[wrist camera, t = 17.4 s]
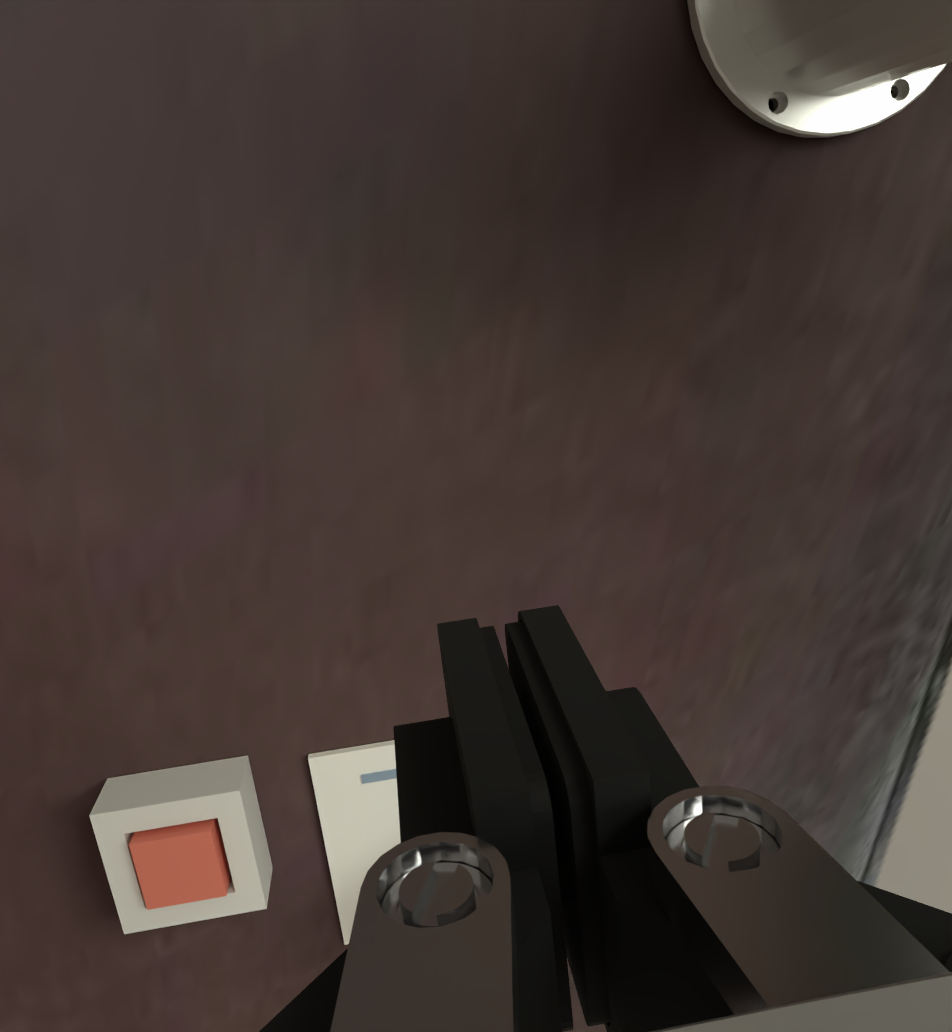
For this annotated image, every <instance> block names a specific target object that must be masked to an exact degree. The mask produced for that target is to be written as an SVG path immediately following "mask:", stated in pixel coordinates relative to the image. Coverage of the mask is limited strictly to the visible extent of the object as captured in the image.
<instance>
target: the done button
mask: <svg viewBox="0 0 952 1032" xmlns="http://www.w3.org/2000/svg"><path fill="white" fill-rule="evenodd" d="M129 847H130V850H131V854H132V857H133V861H134V864H135V868H136V872H137V875H138V879H139V882H140V886H141V889H142V893H143V896H144V900H145V904H146V907H147V910H150V909H156V908H161V907H167V906H173V905H178V904H184V903H190V902H195V901H201V900H206V899H212V898H218V897H223V896H227V891H228V887H229V882H230V877H231V872H230V868H229V863H228V859H227V855H226V851H225V847H224V843H223V838H222V834H221V830H220V826H219V822H218V818H215V819H209V820H203V821H197V822H191V823H185V824H179V825H173V826H167V827H162V828H156V829H150V830H144V831H138V832H134V834H133V836H132V839H131V841H130V844H129Z"/></svg>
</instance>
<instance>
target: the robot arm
mask: <svg viewBox="0 0 952 1032" xmlns="http://www.w3.org/2000/svg"><path fill="white" fill-rule="evenodd" d="M687 2H688V9H689V15H690V22H691V28H692V32H693V34H694V37H695V40H696V43H697V46H698V49H699V52H700V55H701V58H702V60H703V62H704V64H705V65H706V67H707V69H708V71H709V73H710V74H711V76H712V78H713V80H714V82H715V83H716V85H717V86H718V87H719V88H720V89H721V91H722V92H723V93H724V94H725V95H726V96H727V98H728V99H729V100H730V101H731V102H732V104H733V105H735V106H736V107H737V108H738V109H740V110H741V111H742V112H744V113H745V114H746V115H747V116H749V117H750V118H751V119H752V120H754V121H755V122H758V123H760V124H762V125H764V126H766V127H768V128H770V129H772V130H774V131H776V132H779V133H784V134H788V135H793V136H797V137H802V138H829V137H834V136H839V135H844V134H849V133H853V132H856V131H859V130H862V129H865V128H868V127H871V126H874V125H877V124H879V123H881V122H882V121H884V120H886V119H888V118H890V117H891V116H893V115H895V114H897V113H899V112H900V111H902V110H903V109H904V108H905V107H907V106H908V105H909V104H910V103H911V102H913V101H914V100H915V99H916V98H917V97H919V96H920V95H921V94H922V93H924V91H925V90H926V89H927V88H928V87H929V86H930V84H931V83H932V82H933V81H934V80H935V79H936V78H937V76H938V75H939V74H940V73H941V72H942V71H943V69H944V68H945V66H946V65H947V63H949V62H952V0H687ZM890 90H892V93H893V94H892V97H891V92H890ZM769 100H771V101H772V102H773V105H774V107H773V110H772V111H771V110H770V109H769V105H768V102H769ZM437 628H438V636H439V644H440V651H441V658H442V666H443V673H444V681H445V688H446V695H447V703H448V710H449V717H447V718H441V719H435V720H429V721H422V722H416V723H410V724H404V725H398V726H394V743H395V759H396V775H397V791H398V808H399V824H400V840H401V843H400V844H398V845H396V846H395V847H393V848H392V849H390V850H389V851H387V852H386V853H384V854H383V855H381V856H380V857H379V858H378V860H377V861H376V862H375V863H374V864H373V865H372V866H371V868H370V869H369V870H368V871H367V874H366V876H365V878H364V881H363V883H362V885H361V888H360V893H359V898H358V902H357V907H356V912H355V917H354V921H353V926H352V931H351V936H350V940H349V945H348V949H347V950H346V951H344V952H343V953H342V954H341V955H340V956H339V957H338V958H337V959H336V960H335V961H334V962H333V963H332V964H331V965H330V966H328V967H327V968H326V969H325V970H324V971H323V972H322V973H321V974H320V975H319V976H318V977H317V978H316V979H315V980H314V981H313V982H311V983H310V984H309V985H308V986H307V987H306V988H305V989H304V990H303V991H302V992H301V993H300V994H299V995H298V996H297V997H295V998H294V999H293V1000H292V1001H291V1002H290V1003H289V1004H288V1005H287V1006H286V1007H285V1008H284V1009H283V1010H282V1011H281V1012H280V1013H278V1014H277V1015H276V1016H275V1017H274V1018H273V1019H272V1020H271V1021H270V1022H269V1023H268V1024H267V1025H266V1026H265V1027H264V1028H262V1029H261V1030H260V1031H259V1032H563V1031H568V1030H573V1018H572V1008H571V997H570V987H569V977H568V966H567V958H568V962H569V965H570V969H571V972H572V976H573V979H574V983H575V986H576V990H577V993H578V997H579V1000H580V1004H581V1007H582V1010H583V1014H584V1017H585V1020H586V1023H587V1025H588V1026H593V1025H599V1024H604V1023H605V1027H606V1030H607V1032H952V914H951V913H948V912H945V911H942V910H939V909H936V908H934V907H931V906H928V905H925V904H922V903H919V902H917V901H913V900H911V899H908V898H905V897H902V896H899V895H896V894H893V893H891V892H888V891H885V890H882V889H879V888H876V887H873V886H870V885H868V884H865V883H862V882H859V881H856V880H855V879H854V878H853V877H852V876H851V875H850V874H849V873H848V872H847V871H846V870H845V869H844V868H843V867H842V866H841V865H840V864H839V863H838V862H837V861H836V860H835V859H834V858H832V857H831V856H830V855H829V854H828V853H827V852H826V851H825V850H824V849H823V848H822V847H821V846H820V845H819V844H818V843H817V842H816V841H815V840H814V839H813V838H812V837H811V836H810V835H809V834H808V833H807V832H806V831H805V830H804V829H803V828H802V827H801V826H800V825H799V824H798V823H797V822H796V821H795V820H793V819H792V818H791V817H790V816H789V815H788V814H787V813H786V812H785V811H784V810H783V809H781V808H780V807H778V806H777V805H776V804H774V803H773V802H772V801H770V800H769V799H766V798H764V797H762V796H759V795H757V794H755V793H752V792H750V791H746V790H741V789H737V788H732V787H726V786H702V787H699V786H698V784H697V783H696V781H695V779H694V778H693V776H692V775H691V773H690V771H689V770H688V768H687V767H686V765H685V763H684V762H683V760H682V759H681V757H680V755H679V754H678V752H677V751H676V749H675V747H674V746H673V744H672V743H671V741H670V739H669V738H668V736H667V735H666V733H665V731H664V730H663V728H662V727H661V725H660V723H659V722H658V720H657V719H656V717H655V715H654V714H653V712H652V711H651V709H650V707H649V706H648V704H647V703H646V701H645V699H644V698H643V696H642V695H641V693H640V692H639V691H638V690H637V688H634V687H631V688H625V689H619V690H613V691H605V689H604V687H603V686H602V684H601V682H600V680H599V678H598V676H597V675H596V673H595V671H594V669H593V667H592V665H591V664H590V662H589V660H588V658H587V656H586V655H585V653H584V651H583V649H582V647H581V645H580V644H579V642H578V640H577V638H576V636H575V635H574V633H573V631H572V629H571V627H570V625H569V624H568V622H567V620H566V618H565V616H564V615H563V613H562V611H561V609H560V607H559V606H558V605H557V606H551V607H544V608H538V609H531V610H525V611H519V612H518V622H515V623H509V624H505V637H506V646H507V655H508V664H509V669H508V666H507V664H506V661H505V658H504V655H503V652H502V649H501V646H500V643H499V640H498V638H497V635H496V632H495V629H494V626H489V627H483V628H479V625H478V621H477V619H476V618H472V619H466V620H459V621H453V622H446V623H440V624H437ZM566 955H567V956H566Z"/></svg>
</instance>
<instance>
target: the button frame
mask: <svg viewBox="0 0 952 1032" xmlns="http://www.w3.org/2000/svg"><path fill="white" fill-rule="evenodd" d="M89 817H90V820H91V823H92V827H93V830H94V834H95V837H96V840H97V844H98V847H99V851H100V854H101V857H102V861H103V864H104V867H105V871H106V874H107V878H108V881H109V884H110V888H111V891H112V895H113V898H114V901H115V905H116V908H117V912H118V915H119V918H120V922H121V925H122V929H123V932H124V934H128V933H134V932H140V931H145V930H151V929H156V928H162V927H168V926H173V925H179V924H184V923H190V922H195V921H201V920H207V919H212V918H218V917H223V916H229V915H234V914H240V913H246V912H251V911H257V910H262V909H267V903H268V896H269V889H270V883H271V876H272V869H273V867H272V863H271V858H270V854H269V849H268V845H267V840H266V836H265V831H264V826H263V822H262V817H261V813H260V808H259V804H258V799H257V795H256V790H255V786H254V781H253V777H252V772H251V768H250V763H249V759H248V755H247V756H241V757H235V758H229V759H223V760H217V761H211V762H204V763H198V764H192V765H186V766H180V767H174V768H168V769H162V770H156V771H149V772H143V773H137V774H131V775H125V776H119V777H113V778H107V780H106V782H105V784H104V786H103V788H102V790H101V792H100V795H99V797H98V799H97V801H96V803H95V805H94V807H93V809H92V811H91V813H90V815H89ZM215 818H218V822H219V826H220V830H221V834H222V838H223V843H224V847H225V851H226V855H227V859H228V863H229V868H230V872H231V877H230V882H229V887H228V891H227V896H223V897H218V898H212V899H206V900H201V901H195V902H190V903H184V904H178V905H173V906H167V907H161V908H156V909H150V910H147V907H146V904H145V900H144V896H143V893H142V889H141V886H140V882H139V879H138V875H137V872H136V868H135V864H134V861H133V857H132V854H131V850H130V847H129V844H130V841H131V839H132V836H133V834H134V832H138V831H144V830H150V829H156V828H162V827H167V826H173V825H179V824H185V823H191V822H197V821H203V820H209V819H215Z"/></svg>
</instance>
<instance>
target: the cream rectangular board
mask: <svg viewBox="0 0 952 1032" xmlns="http://www.w3.org/2000/svg"><path fill="white" fill-rule="evenodd" d="M308 761H309V766H310V772H311V777H312V782H313V787H314V792H315V797H316V802H317V807H318V812H319V817H320V822H321V827H322V833H323V838H324V843H325V848H326V853H327V858H328V863H329V868H330V873H331V878H332V883H333V889H334V894H335V899H336V904H337V909H338V914H339V919H340V924H341V929H342V934H343V939H344V945H346V944H349V940H350V936H351V931H352V926H353V921H354V917H355V912H356V907H357V902H358V898H359V893H360V888H361V885H362V883H363V881H364V878H365V876H366V874H367V871H368V870H369V869H370V868H371V866H372V865H373V864H374V863H375V862H376V861H377V860H378V858H379V857H380V856H381V855H383V854H384V853H386V852H387V851H389V850H390V849H392V848H393V847H395V846H396V845H398V844H400V843H401V840H400V824H399V808H398V791H397V775H396V759H395V743H394V740H391V741H385V742H379V743H373V744H367V745H361V746H355V747H349V748H343V749H337V750H331V751H325V752H318V753H312V754H308Z"/></svg>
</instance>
